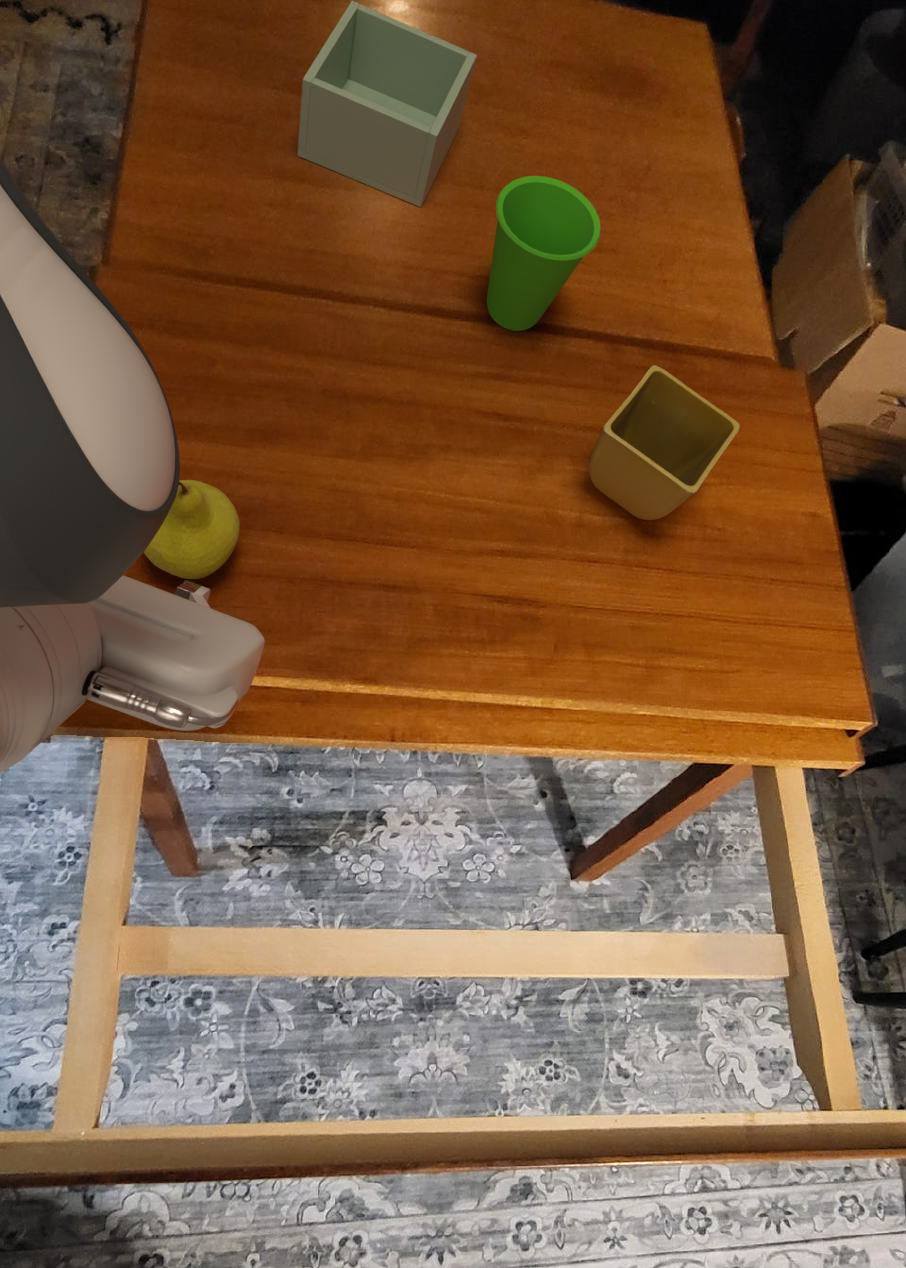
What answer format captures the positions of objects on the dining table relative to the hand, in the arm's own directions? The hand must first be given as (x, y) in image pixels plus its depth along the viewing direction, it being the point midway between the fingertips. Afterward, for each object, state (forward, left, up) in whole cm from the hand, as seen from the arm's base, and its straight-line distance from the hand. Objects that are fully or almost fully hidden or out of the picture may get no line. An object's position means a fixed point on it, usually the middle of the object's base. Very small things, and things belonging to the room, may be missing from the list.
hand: (117, 566), depth 51 cm
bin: (-2, +58, -14) cm, 59 cm away
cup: (+16, +44, -14) cm, 49 cm away
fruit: (0, +9, -14) cm, 16 cm away
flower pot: (+31, +30, -14) cm, 45 cm away
